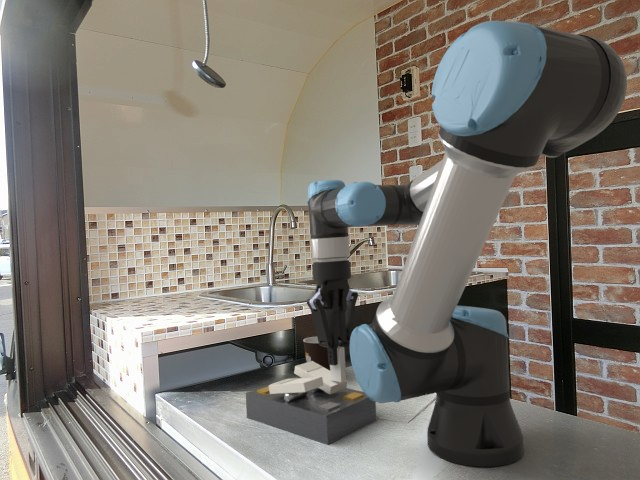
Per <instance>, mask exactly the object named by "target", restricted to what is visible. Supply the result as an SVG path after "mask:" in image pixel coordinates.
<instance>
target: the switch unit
mask: <svg viewBox="0 0 640 480" xmlns="http://www.w3.org/2000/svg"><path fill="white" fill-rule="evenodd" d="M292 378H297V379H299V378H300V377H299V376H294V377H290V378H289V379H292ZM269 385H270V384H269ZM269 385H266V386H262V387H260V388H256V389H254V390H250V391H248V392H245V406H246V418H247V419H250V420H253V421H256V422H259V423H261V424H264V425H268V426H271V427H273V428H276V429H280V430H283V431H286V432H288V433H292V434H294V435H298V436H300V437H303V438H306V439H310V440H312V441H315V442H318V443H321V444H324V445H328V446H329V445H330V444H332V443H335V442H337V441H338V440H340V439H342V438H344V437H346V436H348V435H350V434H352V433H354V432H356V431H358V430H360V429H362V428H365V427H366V426H369V425H370V424H372V423H374V422H376V421H377V418H376V416H377V405H376V404H377V402H374V401H372V400H371V399H370V398H369V397H368V396H367V395H366V394H365V393H364V392H363V390H362V391H361V390H356V389H351V388H348V387H346V388H345V389H342V390H340V391H337V392H335V393H332V394H328V393H326V392H325V391H323V390H321V389H320V388H315V389H312V390H309V391H307V392H296V393H277V394H270V391H269Z"/></svg>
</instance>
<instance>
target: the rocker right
mask: <svg viewBox="0 0 640 480" xmlns="http://www.w3.org/2000/svg"><path fill="white" fill-rule="evenodd" d="M293 373H294V375H296V376H297V377H299V378H312V377H322V379H323V384H324V385H323V386H320V387H318V388H320V389H321V390H323V391H325V392H326V393H328V394H332V393H335V392H337V391H340V390H342V389H345V388H348V387H347V386H348V382H349V381H348V379H346V381H344V382H337V381H332V380H331V374H330V371H329V370H328V369H326V368H324V367H322V366H321V365H319V364H317V363H315V362H313V361H310V362H304V363H301V364H297V365H295V366H294V371H293Z"/></svg>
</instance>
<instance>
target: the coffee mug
mask: <svg viewBox="0 0 640 480" xmlns="http://www.w3.org/2000/svg"><path fill="white" fill-rule="evenodd" d="M302 340H303V348H304V355H305V361H306V362H305V363H307V362H310V361H313V362H315V363H317V364H319V365H321V366H322V367H324V368H326V369H328V370H329V371H330V365H329V363H328V350H327V348H326V347H323V346H320V345H319V342H318V338H317V335H316V336H311V337H305V338H304V339H302Z"/></svg>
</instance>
